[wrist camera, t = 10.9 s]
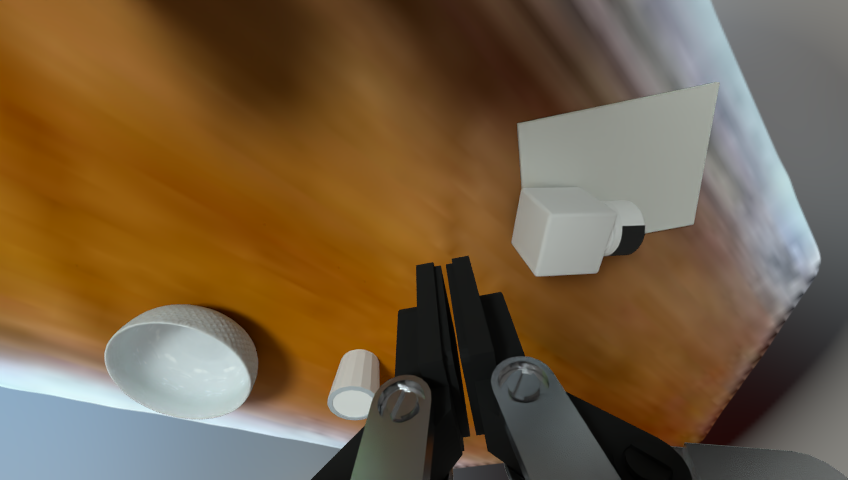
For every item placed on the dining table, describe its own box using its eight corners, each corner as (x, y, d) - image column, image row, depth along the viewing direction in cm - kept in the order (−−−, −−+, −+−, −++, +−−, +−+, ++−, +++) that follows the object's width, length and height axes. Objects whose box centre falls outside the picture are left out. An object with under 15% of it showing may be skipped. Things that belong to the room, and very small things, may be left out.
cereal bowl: (291, 325, 50) (274, 366, 43) (240, 391, 56) (219, 435, 49) (166, 263, 44) (127, 299, 38) (125, 344, 50) (84, 386, 44)
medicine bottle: (510, 243, 43) (601, 240, 45) (534, 278, 37) (640, 272, 38) (520, 186, 39) (619, 185, 41) (549, 214, 33) (665, 211, 35)
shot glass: (328, 355, 52) (316, 396, 46) (369, 340, 51) (363, 380, 45) (351, 384, 56) (344, 426, 49) (391, 370, 54) (388, 412, 48)
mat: (516, 123, 37) (518, 124, 37) (715, 82, 36) (719, 82, 36) (526, 252, 45) (527, 254, 45) (690, 222, 44) (693, 224, 43)
